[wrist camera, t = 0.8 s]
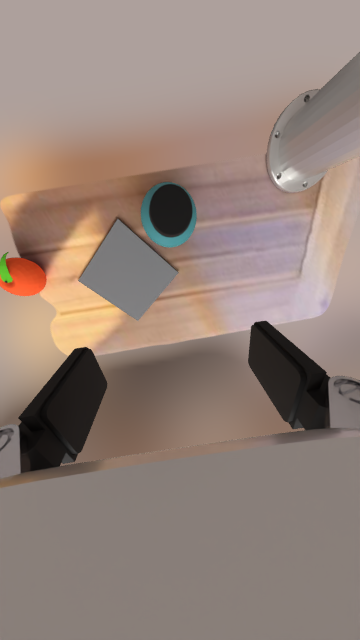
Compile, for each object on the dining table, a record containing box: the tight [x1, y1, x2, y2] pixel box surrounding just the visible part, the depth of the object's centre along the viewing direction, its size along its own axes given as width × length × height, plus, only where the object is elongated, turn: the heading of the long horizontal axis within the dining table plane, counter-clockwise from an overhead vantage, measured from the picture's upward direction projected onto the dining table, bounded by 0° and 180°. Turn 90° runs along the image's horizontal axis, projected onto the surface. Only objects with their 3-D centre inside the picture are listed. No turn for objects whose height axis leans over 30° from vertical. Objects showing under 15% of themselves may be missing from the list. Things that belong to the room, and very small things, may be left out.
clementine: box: [0, 252, 46, 296], centre depth 30 cm, size 8×7×7 cm
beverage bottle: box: [141, 182, 196, 248], centre depth 23 cm, size 6×7×20 cm
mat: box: [78, 219, 178, 321], centre depth 35 cm, size 15×15×1 cm
